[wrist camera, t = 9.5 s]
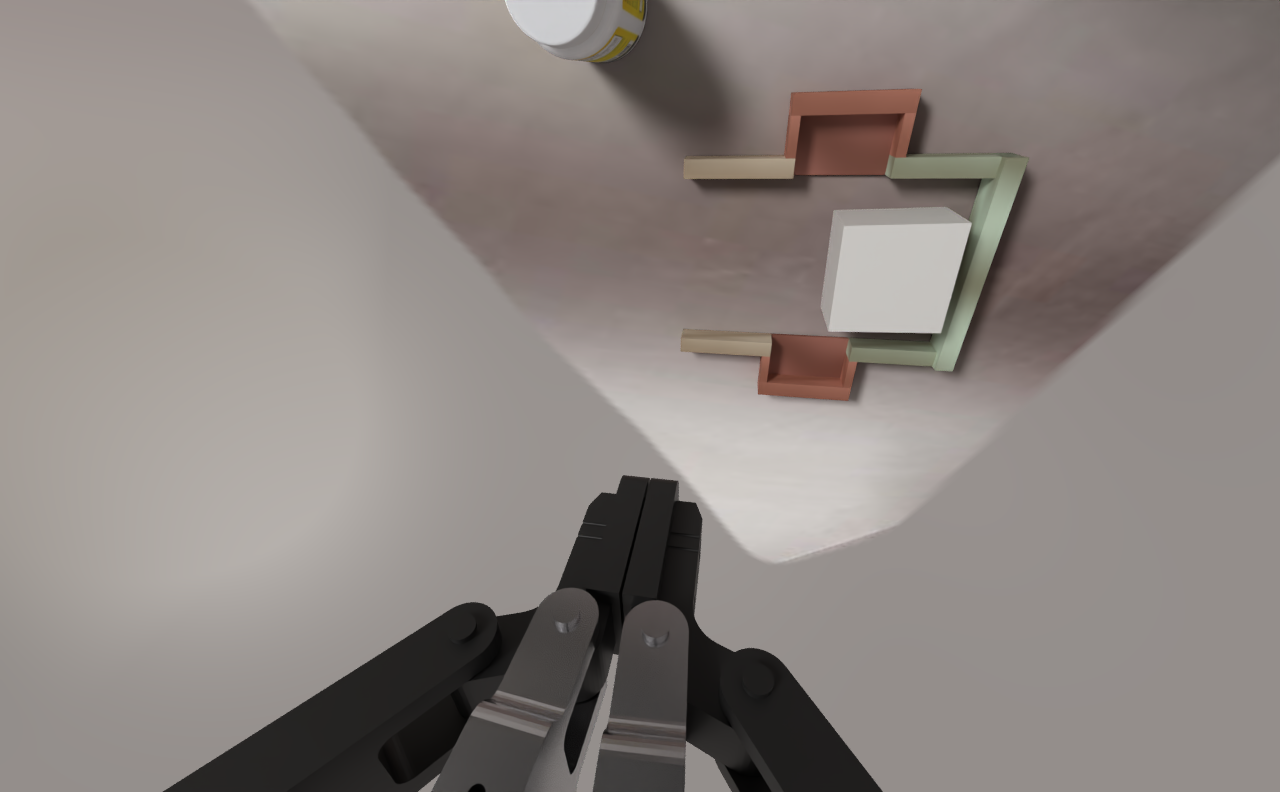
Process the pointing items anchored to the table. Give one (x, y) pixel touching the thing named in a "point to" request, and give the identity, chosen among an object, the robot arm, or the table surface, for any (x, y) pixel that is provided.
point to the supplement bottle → (582, 26)
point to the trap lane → (863, 145)
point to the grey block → (892, 269)
